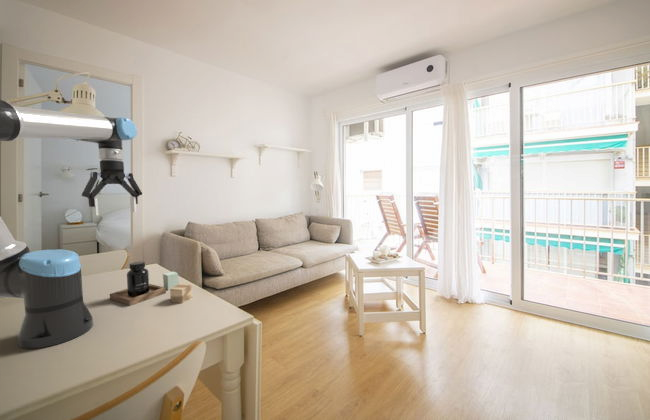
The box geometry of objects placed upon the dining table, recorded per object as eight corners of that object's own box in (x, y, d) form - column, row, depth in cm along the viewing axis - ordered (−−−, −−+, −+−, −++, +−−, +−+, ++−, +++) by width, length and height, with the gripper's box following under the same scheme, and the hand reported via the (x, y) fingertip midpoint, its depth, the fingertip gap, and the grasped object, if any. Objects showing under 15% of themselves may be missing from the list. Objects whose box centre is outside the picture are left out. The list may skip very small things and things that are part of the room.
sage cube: (168, 290, 110) (167, 275, 110) (163, 288, 113) (163, 273, 112) (178, 287, 113) (177, 273, 113) (174, 285, 116) (173, 271, 115)
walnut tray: (130, 305, 96) (129, 300, 96) (110, 299, 102) (109, 294, 102) (166, 292, 107) (165, 287, 107) (146, 287, 113) (145, 282, 113)
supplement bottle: (141, 297, 101) (139, 265, 100) (123, 297, 101) (121, 265, 100) (153, 290, 108) (151, 260, 107) (136, 290, 108) (134, 260, 107)
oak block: (182, 303, 98) (182, 289, 97) (170, 302, 99) (169, 288, 98) (192, 297, 103) (191, 284, 102) (180, 296, 104) (180, 283, 103)
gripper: (76, 157, 96) (82, 217, 98) (149, 162, 118) (152, 211, 120) (66, 158, 100) (72, 216, 102) (139, 163, 122) (142, 210, 124)
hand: (115, 213), depth 111 cm, fingers open, 13 cm apart
